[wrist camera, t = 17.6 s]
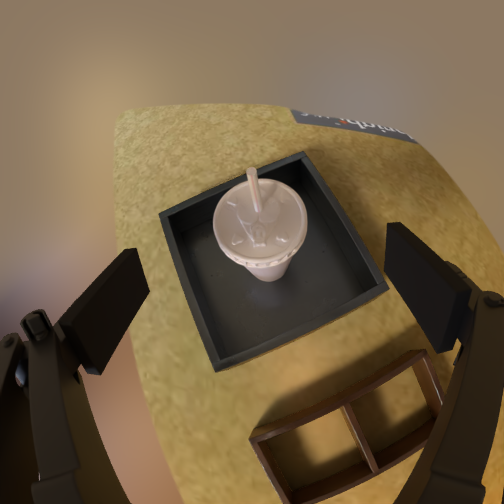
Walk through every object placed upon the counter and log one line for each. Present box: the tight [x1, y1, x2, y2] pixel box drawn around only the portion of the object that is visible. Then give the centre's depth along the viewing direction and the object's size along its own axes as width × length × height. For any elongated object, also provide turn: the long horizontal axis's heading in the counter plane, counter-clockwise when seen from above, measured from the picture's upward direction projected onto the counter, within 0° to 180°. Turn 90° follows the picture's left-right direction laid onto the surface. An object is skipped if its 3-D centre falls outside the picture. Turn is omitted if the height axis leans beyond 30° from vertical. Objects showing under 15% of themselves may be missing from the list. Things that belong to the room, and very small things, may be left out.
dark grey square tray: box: [159, 151, 389, 373], centre depth 26 cm, size 16×16×5 cm
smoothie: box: [213, 167, 307, 282], centre depth 21 cm, size 6×6×14 cm
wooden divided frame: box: [249, 349, 445, 504], centre depth 20 cm, size 9×17×4 cm, turn 114°
